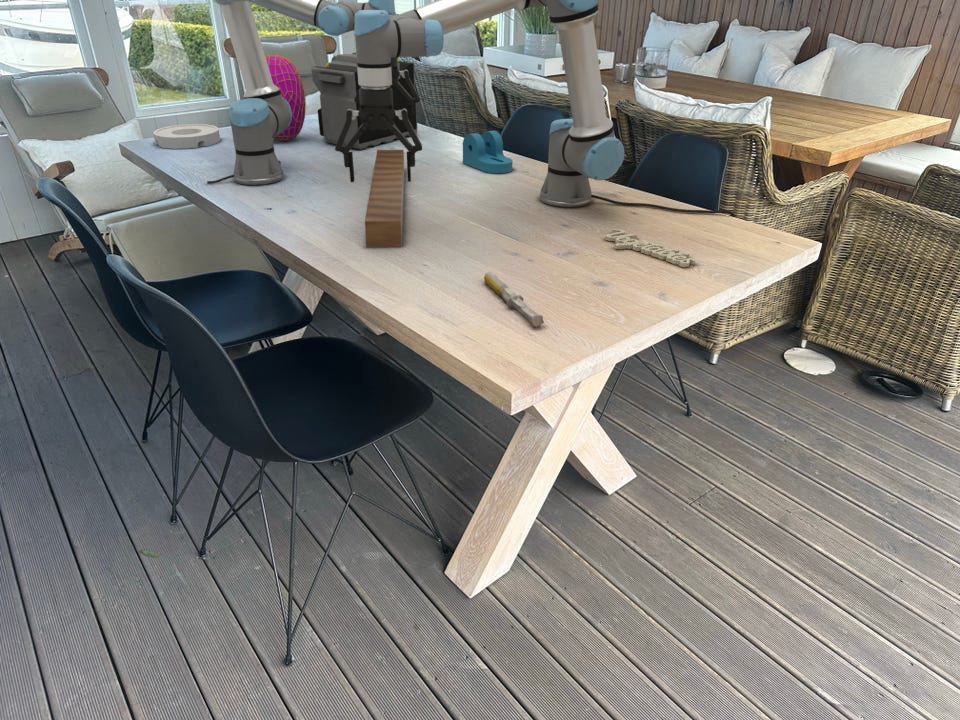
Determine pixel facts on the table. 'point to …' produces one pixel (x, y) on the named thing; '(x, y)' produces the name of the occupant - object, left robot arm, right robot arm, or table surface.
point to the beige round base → (186, 136)
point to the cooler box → (339, 96)
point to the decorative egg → (288, 93)
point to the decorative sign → (649, 248)
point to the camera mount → (486, 152)
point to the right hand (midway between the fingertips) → (381, 180)
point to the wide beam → (386, 201)
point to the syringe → (513, 299)
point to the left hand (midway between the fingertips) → (388, 125)
